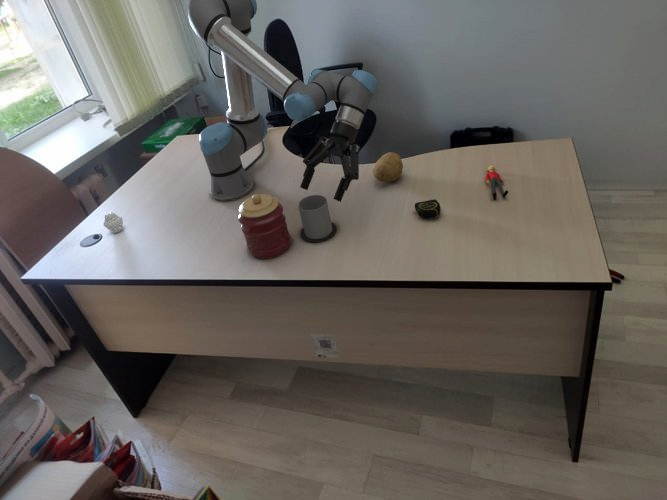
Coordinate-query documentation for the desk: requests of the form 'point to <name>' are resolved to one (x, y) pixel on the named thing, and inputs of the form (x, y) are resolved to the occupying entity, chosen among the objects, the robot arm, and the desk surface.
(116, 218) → the beige knobbly lump
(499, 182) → the person figure
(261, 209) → the kitchen canister
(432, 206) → the tape measure
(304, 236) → the coaster
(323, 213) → the cup
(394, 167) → the potato
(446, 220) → the desk surface
